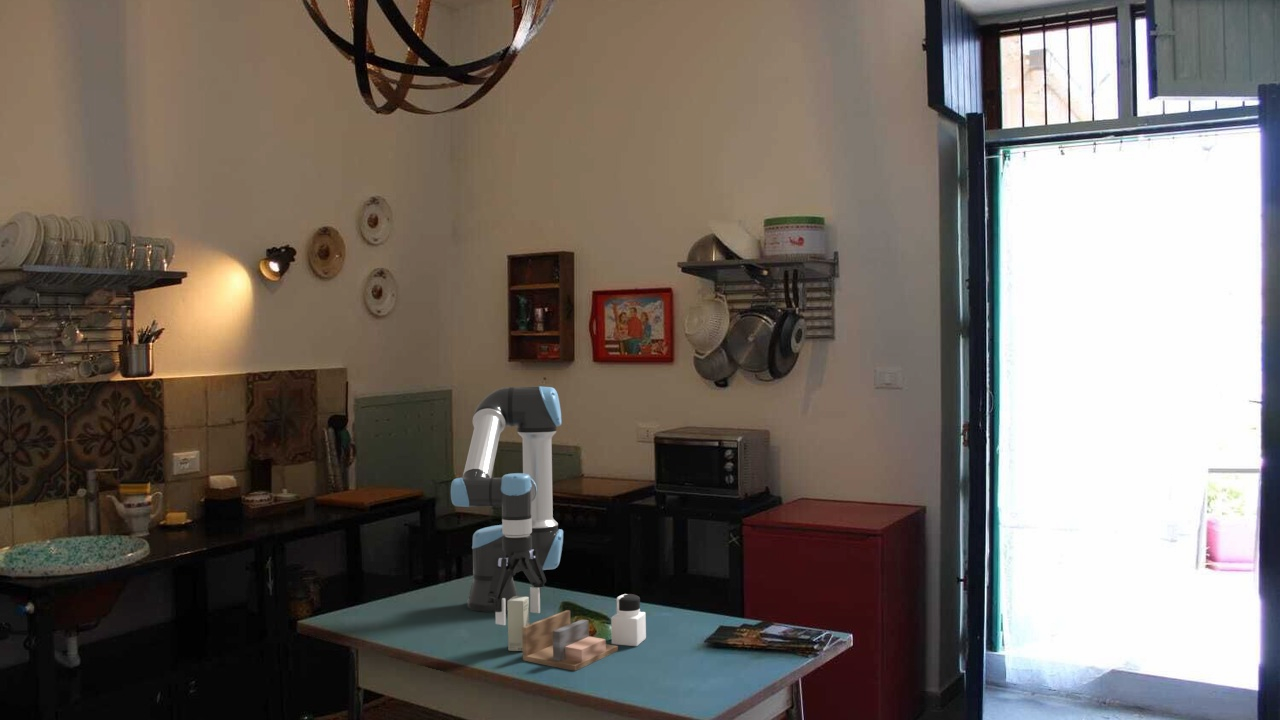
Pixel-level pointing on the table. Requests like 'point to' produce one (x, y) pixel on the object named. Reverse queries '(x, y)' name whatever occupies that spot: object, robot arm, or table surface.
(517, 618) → the box
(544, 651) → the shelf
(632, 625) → the medicine bottle
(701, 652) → the table surface
